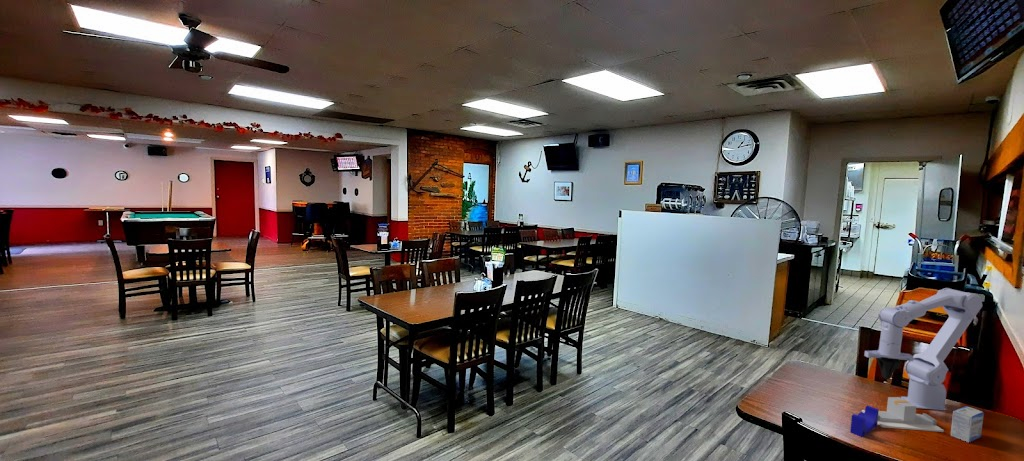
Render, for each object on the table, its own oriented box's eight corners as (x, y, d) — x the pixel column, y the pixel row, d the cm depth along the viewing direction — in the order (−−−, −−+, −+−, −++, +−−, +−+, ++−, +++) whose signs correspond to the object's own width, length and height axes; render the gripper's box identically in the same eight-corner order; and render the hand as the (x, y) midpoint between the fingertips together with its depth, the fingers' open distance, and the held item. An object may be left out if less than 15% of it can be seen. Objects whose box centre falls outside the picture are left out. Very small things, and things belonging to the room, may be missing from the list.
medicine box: (968, 443, 132) (972, 417, 131) (949, 435, 136) (952, 410, 135) (981, 437, 135) (984, 411, 134) (961, 430, 139) (965, 405, 138)
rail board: (918, 415, 148) (919, 409, 148) (943, 432, 138) (944, 425, 138) (861, 411, 150) (862, 404, 150) (882, 427, 140) (882, 420, 140)
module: (897, 410, 147) (899, 396, 147) (914, 420, 141) (916, 405, 141) (886, 411, 147) (888, 397, 147) (903, 420, 141) (904, 406, 141)
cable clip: (860, 420, 145) (862, 403, 144) (877, 426, 141) (878, 409, 140) (844, 430, 139) (846, 413, 138) (861, 437, 135) (863, 419, 134)
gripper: (904, 339, 155) (899, 374, 156) (860, 336, 157) (856, 371, 158) (920, 346, 148) (915, 383, 150) (874, 342, 150) (869, 379, 151)
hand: (885, 377), depth 154 cm, fingers closed
